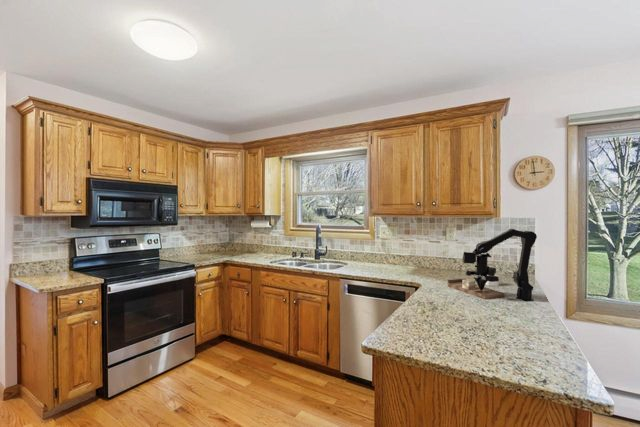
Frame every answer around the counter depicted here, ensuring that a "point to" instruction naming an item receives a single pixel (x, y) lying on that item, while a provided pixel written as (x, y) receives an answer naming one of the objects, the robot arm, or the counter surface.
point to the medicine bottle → (493, 282)
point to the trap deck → (475, 290)
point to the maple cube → (468, 284)
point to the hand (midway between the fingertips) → (481, 290)
